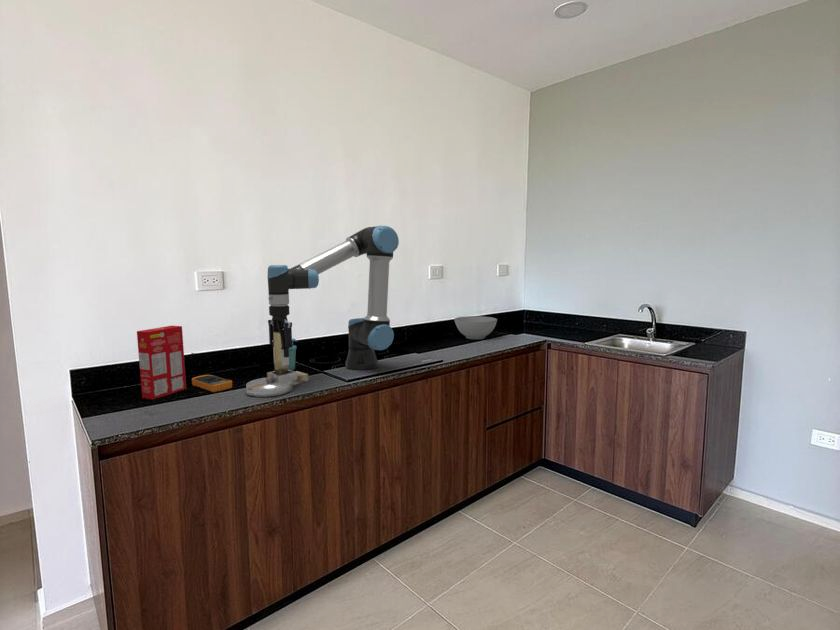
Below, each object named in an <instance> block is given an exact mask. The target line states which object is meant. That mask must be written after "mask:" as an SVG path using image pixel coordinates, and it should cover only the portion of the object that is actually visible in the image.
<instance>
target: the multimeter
mask: <svg viewBox="0 0 840 630" xmlns="http://www.w3.org/2000/svg"><path fill="white" fill-rule="evenodd" d="M191 384H192V386H193V387H196V386H197V387H196V388H199V387H200V389H203V390H206V391H209V392H211V393H217V391H218V392H221V391H225V390H229V389H232V388H233V380H231V379H226V378H222V377H219V376H216V375H212V374H203V375H198V376H195V377H192V378H191Z"/></svg>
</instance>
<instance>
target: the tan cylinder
mask: <svg viewBox="0 0 840 630" xmlns="http://www.w3.org/2000/svg"><path fill="white" fill-rule="evenodd" d="M273 335H274V353H273V360H274V359H275V364H274V371H275V374H276V375H283V374H288V365H285V366H282V356H281V348H282V342H281V333H280V332H279V331H278V332H273Z"/></svg>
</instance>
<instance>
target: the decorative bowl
mask: <svg viewBox="0 0 840 630" xmlns="http://www.w3.org/2000/svg"><path fill="white" fill-rule="evenodd" d="M453 321H454V323H455V325H456V328H457V329H458V331H459V333H460V334H462V335H463V336H465V338H466V339H468V340H483V339H485V338H486V336H489V335H490V334H491V333H492V331H493V330H494V329H495V327H496V325H497V322H498V318H495V317H492V316H484V315H483V316H482V315H481V316H480V315H479V316H477V315H475V316H474V315H470V316H467V315H466V316H458V317H457V316H456V317H455V318H454V320H453Z"/></svg>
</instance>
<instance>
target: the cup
mask: <svg viewBox="0 0 840 630" xmlns="http://www.w3.org/2000/svg"><path fill="white" fill-rule="evenodd" d="M294 342H296V343H298V342H299V340H298V339H295V338H292V347H291V348H289V365H288V370H291V371H295V369H296V355H297V353H296V352H297V347H298V346H297V345H295V344H294Z"/></svg>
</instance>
